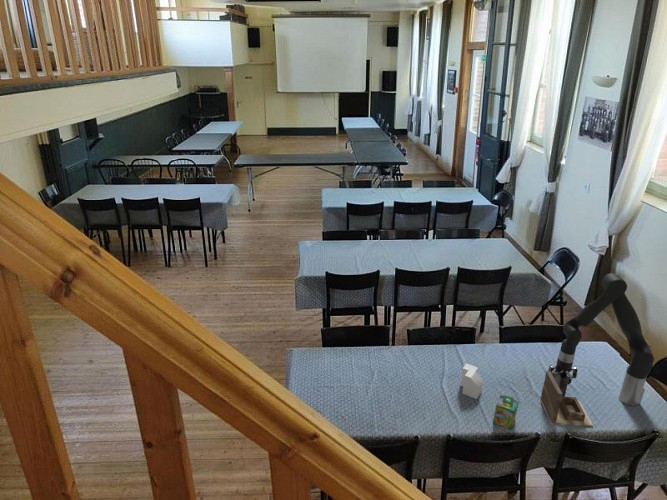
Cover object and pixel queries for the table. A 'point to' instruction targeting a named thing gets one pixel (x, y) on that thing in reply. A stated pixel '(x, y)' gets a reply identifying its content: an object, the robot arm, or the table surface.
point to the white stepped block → (471, 381)
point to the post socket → (562, 405)
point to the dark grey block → (562, 382)
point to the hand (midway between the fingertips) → (559, 382)
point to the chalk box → (505, 411)
